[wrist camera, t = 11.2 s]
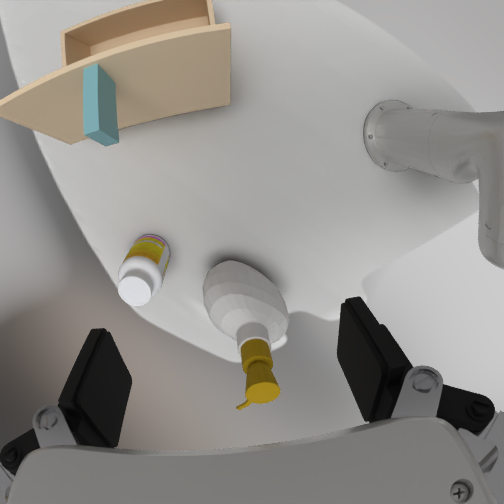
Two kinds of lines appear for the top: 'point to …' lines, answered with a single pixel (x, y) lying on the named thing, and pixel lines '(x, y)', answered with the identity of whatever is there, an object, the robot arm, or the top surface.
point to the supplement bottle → (143, 270)
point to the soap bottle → (248, 322)
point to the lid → (128, 86)
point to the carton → (133, 27)
